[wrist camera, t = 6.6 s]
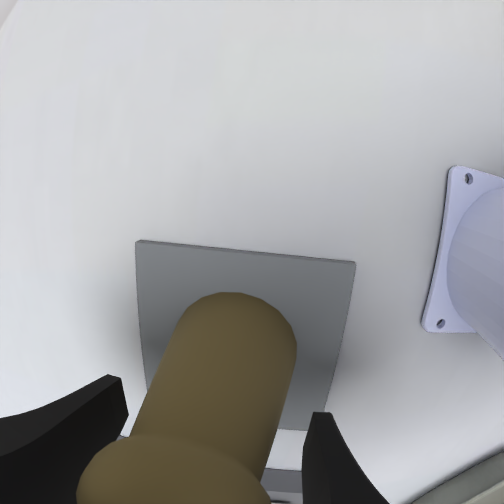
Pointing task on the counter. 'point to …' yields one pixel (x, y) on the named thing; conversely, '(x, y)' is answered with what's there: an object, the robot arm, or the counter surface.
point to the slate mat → (258, 285)
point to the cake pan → (472, 485)
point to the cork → (204, 411)
